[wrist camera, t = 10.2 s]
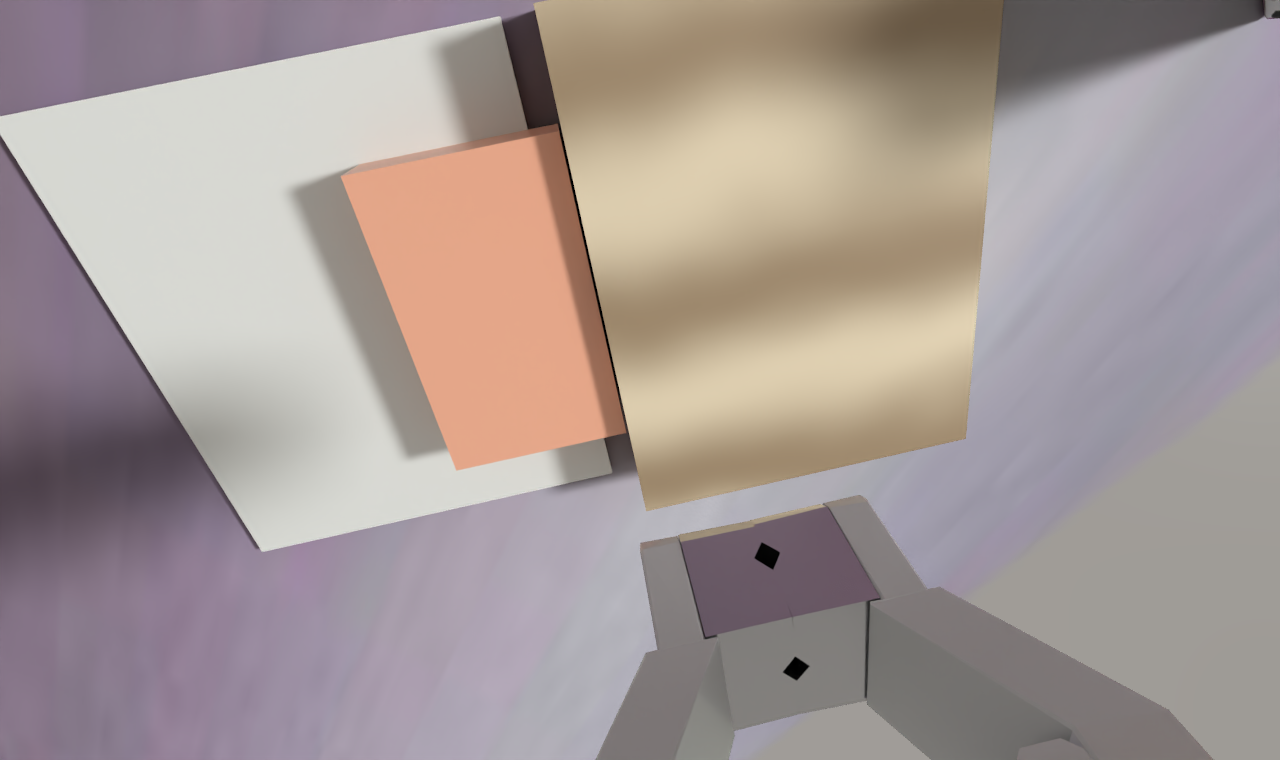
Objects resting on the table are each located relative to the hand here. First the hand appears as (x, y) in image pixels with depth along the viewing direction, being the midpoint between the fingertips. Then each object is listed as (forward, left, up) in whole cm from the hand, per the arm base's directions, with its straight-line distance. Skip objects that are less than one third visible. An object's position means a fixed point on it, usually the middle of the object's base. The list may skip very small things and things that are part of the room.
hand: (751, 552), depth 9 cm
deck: (+1, +5, -15) cm, 15 cm away
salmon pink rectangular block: (+1, -4, -14) cm, 15 cm away
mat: (+1, -9, -15) cm, 17 cm away
